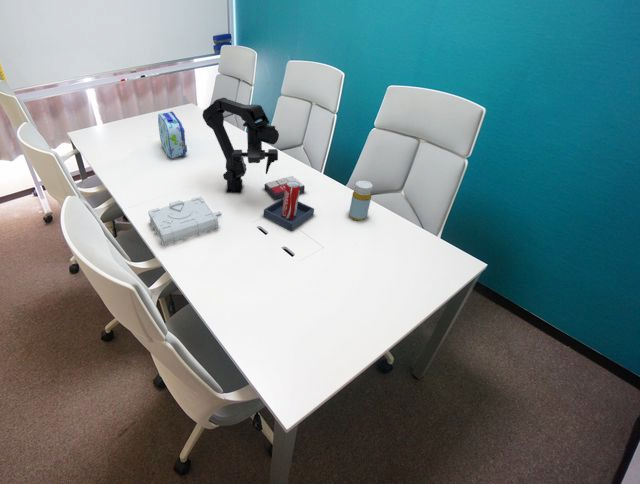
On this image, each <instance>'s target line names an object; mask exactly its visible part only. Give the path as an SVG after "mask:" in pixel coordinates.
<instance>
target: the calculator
mask: <svg viewBox="0 0 640 484" xmlns="http://www.w3.org/2000/svg"><path fill="white" fill-rule="evenodd" d="M289 181H295V182H298V183H299V184H300V192H299V195H302V194H305V189H306V188H305V185H304V184H303V183H302V182H301V181H299V180H298V179H297V178H295V177H294V176H293V175H289V176H286V177H283V178H278V179H276V180H272V181H268V182H265V183H264V191H265V192H266V193H267V194H268V195H269V196H270V197H271V198H272V199H273V200H274V201H279V200H280V199H282V198H284V193H285V186H286V184H287V182H289Z"/></svg>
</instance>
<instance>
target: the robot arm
mask: <svg viewBox="0 0 640 484" xmlns="http://www.w3.org/2000/svg"><path fill="white" fill-rule="evenodd" d="M225 112H226V113H229V114H232V115H233V114H234V115H235V116H238V117H240V118H241V120H242V121H243V122H244V123H243V124H242V126H243V127H245V128H246V141H247V149H246V151H244V152H243V149H234V147H233V144H232V142H231V140H230V137H229V134H228V131H226V128H225V125H224V121H225V116H224V113H225ZM202 119H203V121H204V122H205V124H206V126H207V127H209V128H210V129H212V131H213V133H214V135H215V138H216V140H217V142H218V145H219V147H220V149H221V151H222V154H223V156H224V158H225V170H226V171H225V172H224V173H223V174H222V177H223V180H224V181H226V188H227V189H226V193H231V194H232V193H233V194H234V193H236V194H240V193H242V190H243V187H244V184H243V178H242V177H244V176H245V174H246V172H247V164H246V162H245V159H244V158H247V163H248V164H259V163H261V161H262V160H265V159H266V166H265V175H267V174H268V172H269V169H270V167H271V164H272V163H275V162H276V161H279V150H278V149H277V148H269V149H267V151H266V150H265V149H263V143H265V144H269V145H275V144H276V143H277V142H279V141H278V140H279V137H280V133H279V130H277V129H276V125H270V120H269V118H268V117H267V115H266V112H265V110H264V109H263V106H262V105H261V104H244V103H241V102H238V101H235V100H231V99H228V98H227V97H220V98H217V99H215V100H214V101H213V102H212V103H211V104H210V105H209V106H208V107H206V108H205V109H203V111H202Z"/></svg>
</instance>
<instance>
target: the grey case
mask: <svg viewBox="0 0 640 484" xmlns="http://www.w3.org/2000/svg"><path fill="white" fill-rule="evenodd" d="M147 213H148V216H149V223H150V225H151V227H152V228H153V229H154V230H155V232H156V234H157V237H158V238H159V240H160V242H161V244H162V245H163V246H167V244H170V243H176V242H178V241H179V242H180V241H182V240H185V239H186V238H188V237H192V236H195V235H201V234H204V233H207V232H210V231H211V230H213V229H214V230H217V229H218V228H219V219H218V217H217V216H220V215H222V212H221V211H220V210H219V211H216V212H214V211H213V210H212V209H211V208H210V207H209V205H208V204H207V203H206V201H205V200H204V198H203V197H202V196H201V195H200V196H196V197H193V198H191V199H189V200H185V201H182V200H176V201H172V202H169V204H168V205H167V206H163V207H160V208H159V207H158V208H153V209H149V210H147Z"/></svg>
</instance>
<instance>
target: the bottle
mask: <svg viewBox="0 0 640 484" xmlns="http://www.w3.org/2000/svg"><path fill="white" fill-rule="evenodd" d="M373 186H374V185H373V184H372V182H371V181H368V180H358V181H356V182H355V185H354V190H353V192H352V195H351V200H350V205H349V211H348V216H349V217H350V219H352V220H354V221H358V222H359V221H360V222H361V221H364V220H365V219H367V218H368V213H369V210H370V205H371V200H372V190H373Z"/></svg>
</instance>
